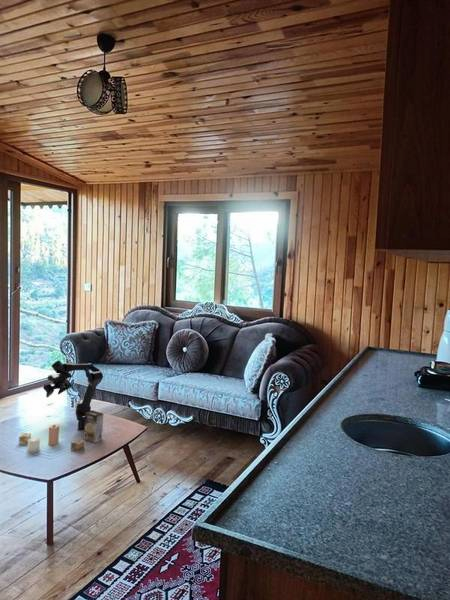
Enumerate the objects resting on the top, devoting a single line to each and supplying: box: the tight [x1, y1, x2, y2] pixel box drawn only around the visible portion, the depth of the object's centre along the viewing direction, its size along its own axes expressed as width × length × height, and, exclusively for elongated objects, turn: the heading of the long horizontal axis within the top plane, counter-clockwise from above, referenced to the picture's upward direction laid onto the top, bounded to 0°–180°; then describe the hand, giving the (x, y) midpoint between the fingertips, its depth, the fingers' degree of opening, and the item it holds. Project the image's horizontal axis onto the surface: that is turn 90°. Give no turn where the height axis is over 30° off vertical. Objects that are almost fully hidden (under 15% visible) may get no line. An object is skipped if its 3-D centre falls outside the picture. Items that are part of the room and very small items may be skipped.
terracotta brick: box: [48, 424, 60, 446], centre depth 255 cm, size 4×4×11 cm
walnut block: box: [70, 439, 85, 453], centre depth 250 cm, size 5×5×4 cm
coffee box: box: [83, 410, 104, 443], centre depth 264 cm, size 9×6×16 cm
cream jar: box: [27, 437, 41, 454], centre depth 245 cm, size 6×6×6 cm
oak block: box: [18, 432, 32, 445], centre depth 255 cm, size 5×5×4 cm
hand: (52, 395), depth 294 cm, fingers open, 9 cm apart
